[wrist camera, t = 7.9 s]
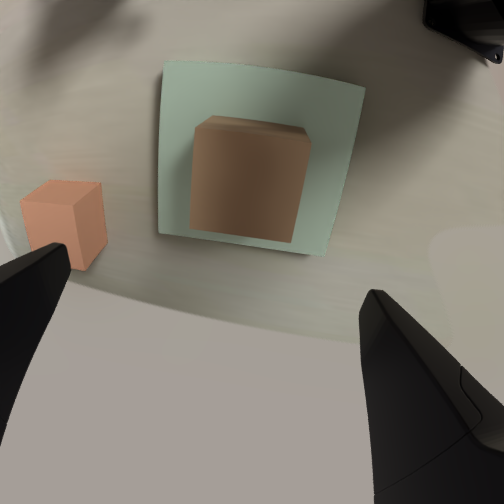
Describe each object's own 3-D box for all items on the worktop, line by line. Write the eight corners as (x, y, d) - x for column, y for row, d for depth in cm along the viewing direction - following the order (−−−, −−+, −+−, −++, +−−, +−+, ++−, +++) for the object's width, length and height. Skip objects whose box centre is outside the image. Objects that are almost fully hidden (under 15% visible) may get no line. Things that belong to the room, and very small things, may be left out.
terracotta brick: (101, 182, 20) (72, 205, 17) (108, 241, 23) (85, 271, 19) (50, 179, 20) (19, 200, 17) (60, 234, 23) (34, 260, 19)
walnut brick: (303, 127, 16) (312, 143, 12) (288, 208, 19) (290, 243, 15) (212, 115, 16) (194, 127, 12) (205, 197, 18) (189, 228, 15)
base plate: (358, 86, 15) (365, 87, 14) (321, 245, 21) (324, 256, 20) (172, 61, 15) (164, 60, 14) (165, 222, 21) (158, 232, 20)
